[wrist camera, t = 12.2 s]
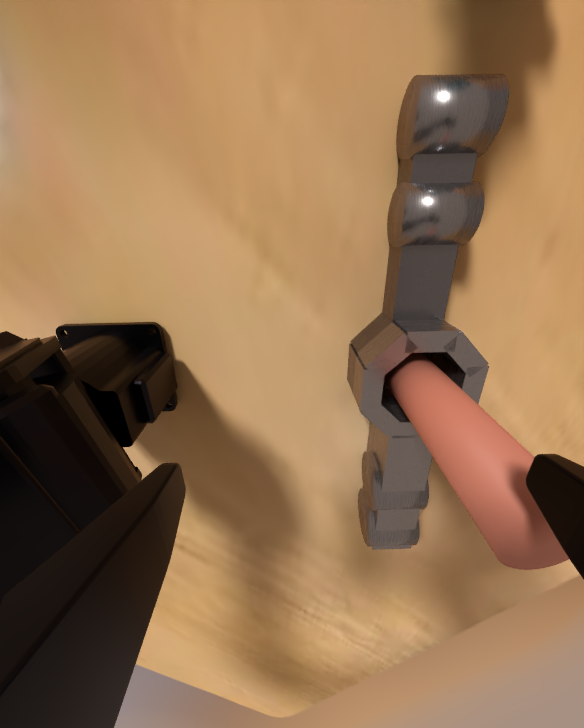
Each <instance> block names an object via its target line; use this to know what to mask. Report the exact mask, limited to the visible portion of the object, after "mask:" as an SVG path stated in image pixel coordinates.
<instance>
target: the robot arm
mask: <svg viewBox="0 0 584 728" xmlns="http://www.w3.org/2000/svg"><path fill="white" fill-rule="evenodd" d="M150 328H154V329H155V330H156V333H153V332H151V330H150ZM64 330H65V331H67V332H68V335H67V334H65V332H64ZM56 335H57V337H58V339H57V338H56V336H52V337H48V338H44V339H41V340H40V338H34V339H29V340H27V338H26V339H23V338H20V337H18V336H16V335H14V334H11V333H9V332H7V331H5V332H1V333H0V728H114V726H115V723H116V720H117V717H118V714H119V711H120V708H121V705H122V702H123V699H124V696H125V693H126V690H127V687H128V684H129V681H130V678H131V675H132V673H133V669H134V667H135V664H136V661H137V658H138V655H139V652H140V649H141V646H142V643H143V640H144V637H145V634H146V631H147V628H148V625H149V622H150V619H151V616H152V613H153V610H154V607H155V604H156V601H157V598H158V595H159V592H160V590H161V587H162V584H163V581H164V578H165V575H166V572H167V569H168V565H169V562H170V559H171V555H172V551H173V546H174V542H175V538H176V533H177V529H178V525H179V520H180V516H181V512H182V507H183V503H184V498H185V491H186V489H185V483H184V479H183V474H182V470H181V466H180V465H179V464H178V463H164V464H161V465H160V466H158V467H157V468H156V469H155V470H153V471H152V472H151V473H150V474H149V475H147V476H146V477H145V478H144V479H143V480H141V479H142V473H141V472H140V470H139V469H138V467H135V466H134V465H133V463H132V461H131V460H130V458H129V457H128V455H127V453H126V452H125V450H124V449H123V447H130V446H132V445H133V443H134V442H135V440H136V439H137V437H138V436H139V435H140V433H141V432H142V430H143V429H144V427H145V426H146V425H147V423H153V422H154V421H155V420H156V419H157V417H158V416H159V414H160V413H161V411H173V410H174V409H175V408H176V406H177V404H178V401H177V396H176V392H175V390H176V389H177V382H176V377H175V372H174V367H173V363H172V358H171V355H170V354H169V353H168V352H167V350H166V345H165V340H164V336H163V331H162V328H161V326H160V325H159V324H158V323H156V322H134V323H93V324H64V325H61V326H59V327H58V328H57V329H56ZM58 340H59V341H58ZM60 348H62V350H61V349H60ZM167 402H170V403H172V405H169V404H168V403H167ZM525 481H526V486H527V488H528V490H529V492H530V493H531V495H532V497H533V499H534V500H535V502H536V504H537V506H538V507H539V509H540V511H541V512H542V514H543V516H544V518H545V519H546V521H547V523H548V525H549V526H550V528H551V530H552V531H553V533H554V535H555V537H556V538H557V540H558V542H559V543H560V545H561V547H562V548H563V550H564V551H565V553H566V554H567V556H568V557H569V559H570V560H571V562H572V563H573V565H574V566H575V568H576V569H577V571H578V572H579V573H580V575H581V576H582V578H583V579H584V467H583V466H581V465H579V464H577V463H575V462H572V461H570V460H568V459H566V458H564V457H562V456H559V455H556V454H539V455H537V456H535V457H534V459H533V462H532V464H531V466H530V469H529V471H528V473H527V476H526V480H525Z"/></svg>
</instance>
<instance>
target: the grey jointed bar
mask: <svg viewBox="0 0 584 728" xmlns="http://www.w3.org/2000/svg"><path fill="white" fill-rule="evenodd" d="M508 97H509V85H508V81H507V78H506V76H504V75H503V74H466V75H416V76H414V77H413V79H412V80H411V82H410V83H409V85H408V88H407V90H406V93H405V95H404V98H403V102H402V106H401V110H400V114H399V120H398V126H397V138H396V145H397V153H398V156H399V158H400V160H399V169H398V178H397V187H396V189H395V191H394V193H393V196H392V199H391V202H390V207H389V212H388V222H387V232H388V239H389V243H390V249H389V258H388V267H387V276H386V285H385V294H384V303H383V312H382V313H381V314H380V315H379V316H378V317H377V318H376V319H375V320H374V321H373V322H371V323H370V324H369V325H368V326H367V327H366V328H365V329H364V330H363V331H361V332H360V333H359V334H358V335H357V336H356V337H355V338H354V339H353V340H352V341H351V343H352V344H349V359H348V374H347V380H348V382H349V385H350V387H351V390H352V392H353V395H354V397H355V400H356V402H357V405H358V407H359V410H360V412H361V414H363V415H364V416H365V417H366V418H367V419H368V420H369V421H370V427H369V436H368V445H367V452H364V454H363V458H362V480H363V489H360V491H359V495H358V510H359V519H360V526H361V531H362V535H363V538H364V541H365V543H366V545H367V546H368V547H371V546H372V549H373V550H374V549H404V548H411V546H412V545H416V544H417V542H418V540H419V520H418V516H419V512H420V510H422V509H424V508H425V507H426V506H427V503H428V498H429V486H428V479H427V478H428V473H429V469H430V465H431V461H432V455H431V453H430V452H429V450H428V449H427V447H426V445H425V444H424V442H423V441H422V439H421V438H420V436H419V434H418V433H417V431H416V430H415V428H414V427H413V425H412V423H411V422H410V420H409V419H408V417H407V416H406V414H405V412H404V411H403V409H402V408H401V406H400V405H399V403H398V401H397V400H396V398H395V397H394V395H393V394H392V392H391V390H390V389H383V383H384V376H385V375H386V374H387V373H388V372H389V371H391V370H392V369H393V368H394V367H395V366H397V365H398V364H399V363H400V362H401V361H403V360H404V359H405V358H406V357H408V356H409V355H410V354H411V353H422V352H433V353H432V358H431V361H432V362H433V363H434V364H435V365H436V366H437V367H438V368H439V369H440V370H441V371H442V372H444V373H445V374H446V375H447V376H448V377H449V378H450V379H451V380H452V381H453V382H454V383H455V384H456V385H457V386H459V387H460V388H461V389H462V390H463V391H464V392H465V393H466V394H467V395H468V396H469V397H470V398H471V399H473V400H474V401H475V402H476V403H477V404H478V403H479V399H480V396H481V392H482V389H483V386H484V382H485V379H486V375H487V372H488V368H489V366H488V365H487V364H488V362H487V361H486V360H485V359H484V358H483V356H482V355H481V354H480V353H479V352H478V350H477V349H476V348H475V347H474V345H473V344H472V343H471V342H470V341H469V339H468V338H467V337H466V336H465V335H464V333H463V332H462V331H460V330H458V329H457V328H455V327H453V326H452V325H450V324H448V323H447V322H445V321H443V320H444V315H445V310H446V305H447V300H448V295H449V291H450V286H451V281H452V276H453V271H454V266H455V261H456V256H457V251H458V246H461V245H464V244H466V243H467V242H469V241H470V240H471V238H472V237H473V236H474V234H475V232H476V231H477V229H478V227H479V224H480V221H481V218H482V215H483V210H484V192H483V189H482V186H481V185H480V184H479V183H478V182H476V181H472V178H473V173H474V168H475V163H476V158H477V157H479V156H481V155H482V154H483V153H484V152H485V151H486V150H487V149H488V148H489V147H490V145H491V144H492V142H493V141H494V139H495V137H496V135H497V133H498V131H499V129H500V127H501V124H502V121H503V119H504V116H505V112H506V108H507V103H508Z"/></svg>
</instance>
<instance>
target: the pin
mask: <svg viewBox="0 0 584 728" xmlns="http://www.w3.org/2000/svg"><path fill="white" fill-rule="evenodd" d="M384 381H385V383H386V384H387V386H388V387H389V389H390V390H391V392H392V394H393V395H394V397H395V398H396V400H397V401H398V403H399V405H400V406H401V408H402V409H403V411H404V412H405V414H406V416H407V417H408V419H409V420H410V422H411V423H412V425H413V427H414V428H415V430H416V431H417V433H418V434H419V436H420V438H421V439H422V441H423V442H424V444H425V445H426V447H427V449H428V450H429V452H430V453H431V455H432V456H433V458H434V460H435V461H436V463H437V464H438V466H439V467H440V469H441V471H442V472H443V474H444V475H445V477H446V478H447V480H448V482H449V483H450V485H451V486H452V488H453V489H454V491H455V493H456V494H457V496H458V497H459V499H460V500H461V502H462V503H463V505H464V507H465V508H466V510H467V511H468V513H469V514H470V516H471V518H472V519H473V521H474V522H475V524H476V525H477V527H478V529H479V530H480V532H481V533H482V535H483V536H484V538H485V540H486V541H487V543H488V544H489V546H490V547H491V549H492V551H493V552H494V554H495V555H496V557H497V558H498V560H499V561H500V562H501V563H503V564H504V565H506V566H508V567H512V568H516V569H524V570H530V569H540V568H545V567H549V566H553V565H556V564H559V563H562V562H564V561H566V560H568V559H569V557H568V556H567V554H566V553H565V551H564V550H563V548H562V547H561V545H560V543H559V542H558V540H557V538H556V537H555V535H554V533H553V531H552V530H551V528H550V526H549V525H548V523H547V521H546V519H545V518H544V516H543V514H542V512H541V511H540V509H539V507H538V506H537V504H536V502H535V500H534V499H533V497H532V495H531V493H530V492H529V490H528V488H527V486H526V481H525V480H526V476H527V473H528V471H529V469H530V466H531V464H532V462H533V459H534V456H533V455H532V454H531V453H529V452H528V451H527V450H526V449H525V448H524V447H523V446H522V445H521V444H520V443H519V442H518V441H517V440H515V439H514V438H513V437H512V436H511V435H510V434H509V433H508V432H507V431H506V430H505V429H504V428H503V427H502V426H500V425H499V424H498V423H497V422H496V421H495V420H494V419H493V418H492V417H491V416H490V415H489V414H488V413H486V412H485V411H484V410H483V409H482V408H481V407H480V406H479V405H478V404H477V403H476V402H475V401H474V400H473V399H471V398H470V397H469V396H468V395H467V394H466V393H465V392H464V391H463V390H462V389H461V388H460V387H459V386H457V385H456V384H455V383H454V382H453V381H452V380H451V379H450V378H449V377H448V376H447V375H446V374H445V373H444V372H442V371H441V370H440V369H439V368H438V367H437V366H436V365H435V364H434V363H433V362H432V361H431V360H430V359H428V358H427V357H426V356H425V355H424V354H423V353H411V354H410V355H409V356H408V357H406V358H405V359H404V360H403V361H401V362H400V363H399V364H398V365H397V366H395V367H394V368H393V369H392V370H391V371H389V372H388V373H387V374H386V375H385V376H384Z"/></svg>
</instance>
